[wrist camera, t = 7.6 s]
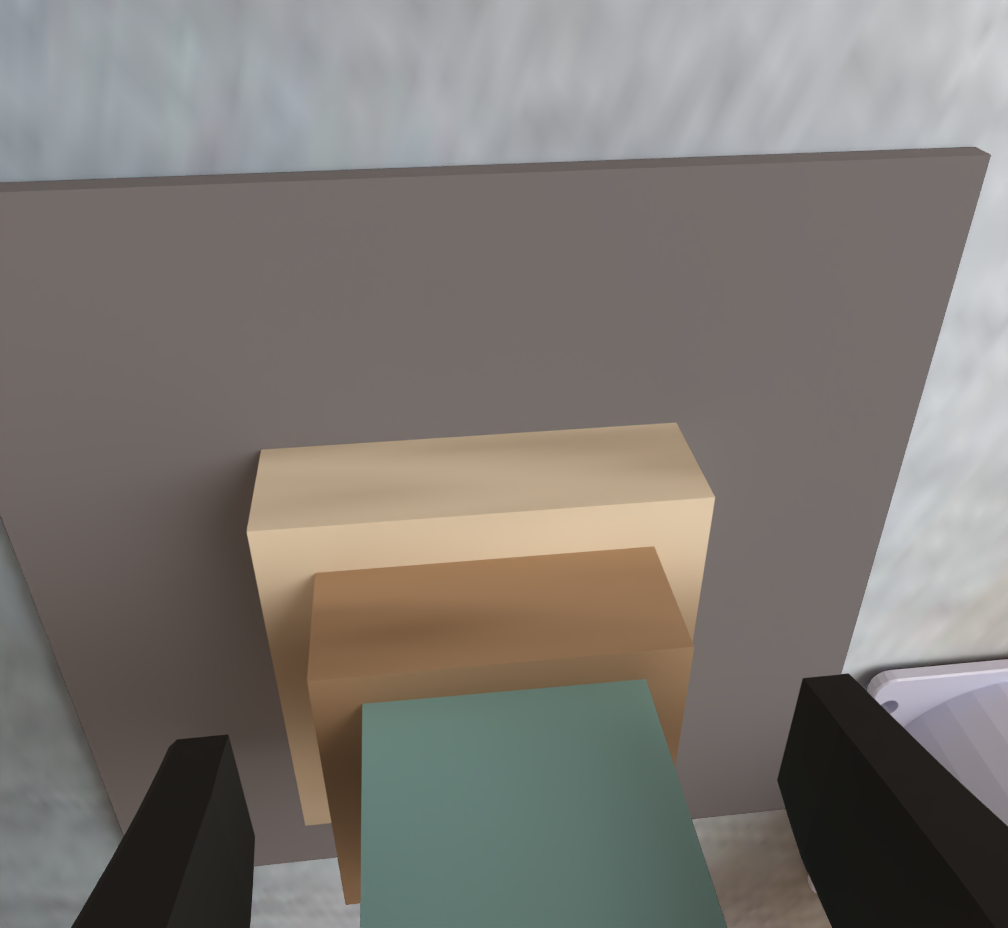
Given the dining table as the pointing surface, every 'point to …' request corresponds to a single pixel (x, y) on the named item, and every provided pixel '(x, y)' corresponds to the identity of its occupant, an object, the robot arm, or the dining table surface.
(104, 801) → the dining table surface
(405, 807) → the teal block
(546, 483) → the birch slab
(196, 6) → the dining table surface
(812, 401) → the charcoal mat
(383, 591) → the walnut slab
